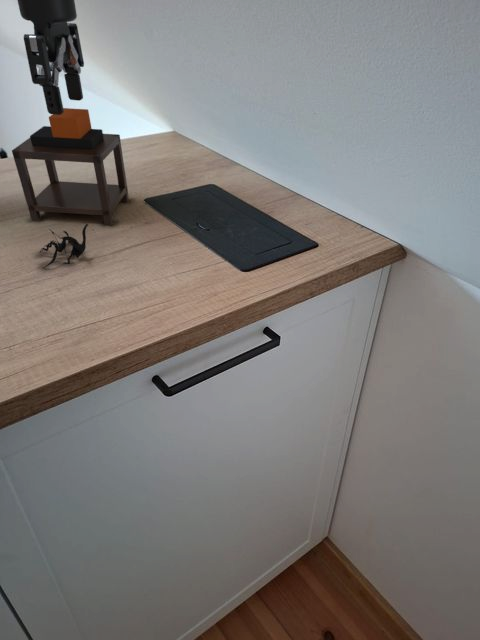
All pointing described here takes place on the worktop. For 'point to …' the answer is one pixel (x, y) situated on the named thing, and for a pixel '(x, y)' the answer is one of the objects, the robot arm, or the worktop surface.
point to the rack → (73, 193)
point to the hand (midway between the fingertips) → (66, 106)
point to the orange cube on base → (68, 131)
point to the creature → (76, 248)
